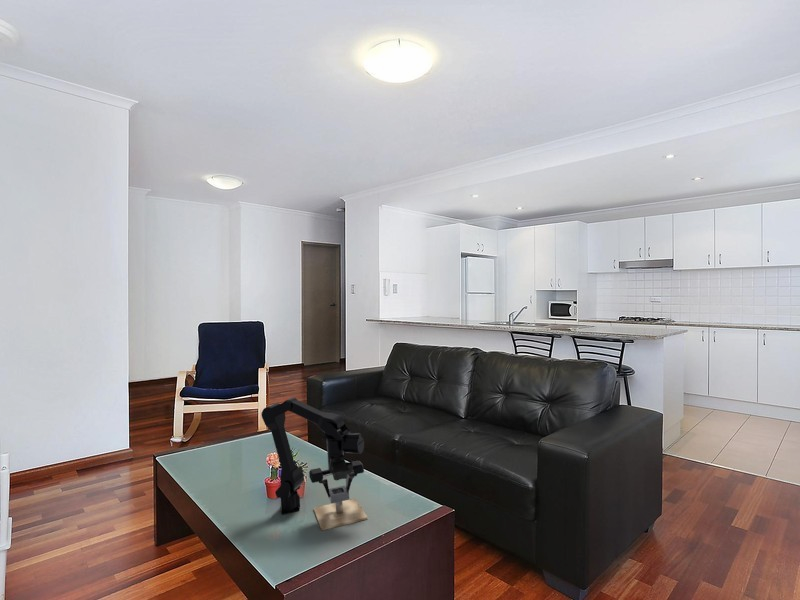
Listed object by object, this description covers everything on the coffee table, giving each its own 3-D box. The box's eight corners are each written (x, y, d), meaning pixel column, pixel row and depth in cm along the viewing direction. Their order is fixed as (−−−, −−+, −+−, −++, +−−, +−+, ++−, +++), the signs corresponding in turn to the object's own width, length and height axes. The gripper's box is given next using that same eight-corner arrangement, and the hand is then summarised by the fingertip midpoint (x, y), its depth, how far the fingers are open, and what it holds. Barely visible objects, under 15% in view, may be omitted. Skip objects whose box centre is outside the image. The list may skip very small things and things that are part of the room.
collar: (331, 503, 156) (330, 496, 156) (327, 496, 162) (327, 489, 162) (349, 499, 158) (348, 492, 158) (345, 492, 164) (344, 485, 164)
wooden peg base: (321, 530, 150) (320, 511, 150) (313, 509, 165) (312, 492, 165) (367, 519, 156) (366, 501, 155) (355, 500, 171) (354, 483, 170)
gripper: (312, 464, 149) (315, 510, 149) (366, 453, 156) (369, 498, 156) (307, 453, 160) (310, 497, 160) (358, 444, 166) (361, 486, 166)
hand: (338, 494), depth 160 cm, fingers closed on collar, 6 cm apart
